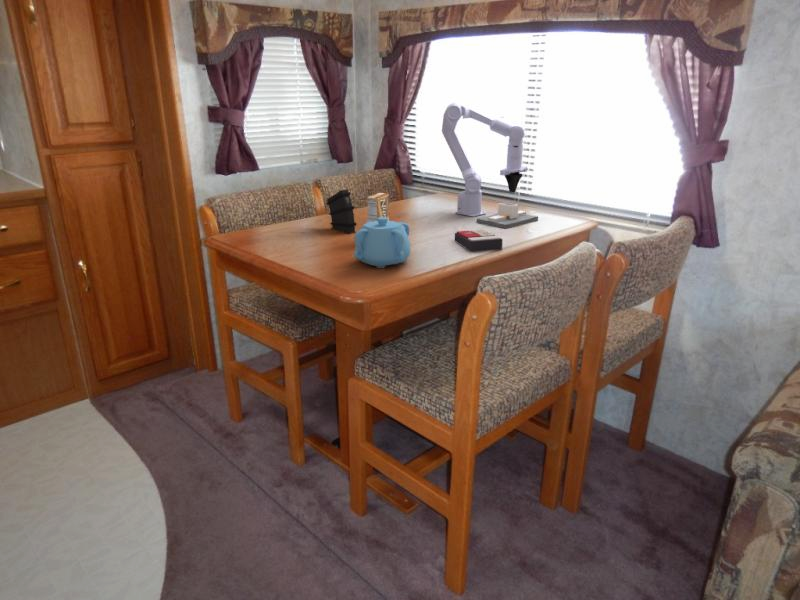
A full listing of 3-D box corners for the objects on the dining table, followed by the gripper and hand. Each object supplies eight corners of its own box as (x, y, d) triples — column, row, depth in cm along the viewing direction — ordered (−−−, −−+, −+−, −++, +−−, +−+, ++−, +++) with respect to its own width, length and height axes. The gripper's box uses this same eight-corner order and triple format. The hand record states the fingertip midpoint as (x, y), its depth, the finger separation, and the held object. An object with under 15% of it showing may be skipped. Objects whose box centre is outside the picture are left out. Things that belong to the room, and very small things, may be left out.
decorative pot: (366, 253, 179) (364, 210, 175) (415, 256, 176) (415, 213, 171) (348, 268, 165) (346, 222, 160) (402, 272, 161) (401, 225, 156)
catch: (499, 218, 218) (499, 215, 218) (509, 215, 222) (509, 212, 221) (505, 219, 216) (505, 216, 215) (515, 217, 220) (515, 213, 219)
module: (497, 216, 220) (498, 203, 218) (504, 214, 222) (505, 201, 220) (511, 219, 215) (512, 205, 213) (517, 217, 218) (518, 204, 216)
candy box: (378, 236, 199) (378, 192, 194) (389, 237, 198) (389, 193, 192) (367, 242, 192) (366, 196, 186) (378, 243, 190) (377, 197, 185)
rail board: (476, 222, 218) (476, 215, 217) (508, 214, 230) (509, 208, 229) (505, 228, 208) (506, 221, 207) (537, 220, 221) (538, 213, 220)
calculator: (484, 228, 195) (503, 236, 182) (484, 240, 197) (502, 249, 183) (454, 230, 193) (471, 239, 179) (454, 243, 194) (470, 252, 180)
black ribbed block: (352, 231, 199) (340, 190, 199) (334, 240, 210) (323, 201, 210) (361, 229, 201) (349, 188, 201) (343, 238, 212) (331, 200, 212)
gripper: (511, 159, 214) (509, 195, 219) (534, 156, 223) (531, 190, 228) (496, 157, 219) (494, 193, 224) (519, 154, 228) (517, 188, 233)
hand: (512, 191), depth 226 cm, fingers closed
